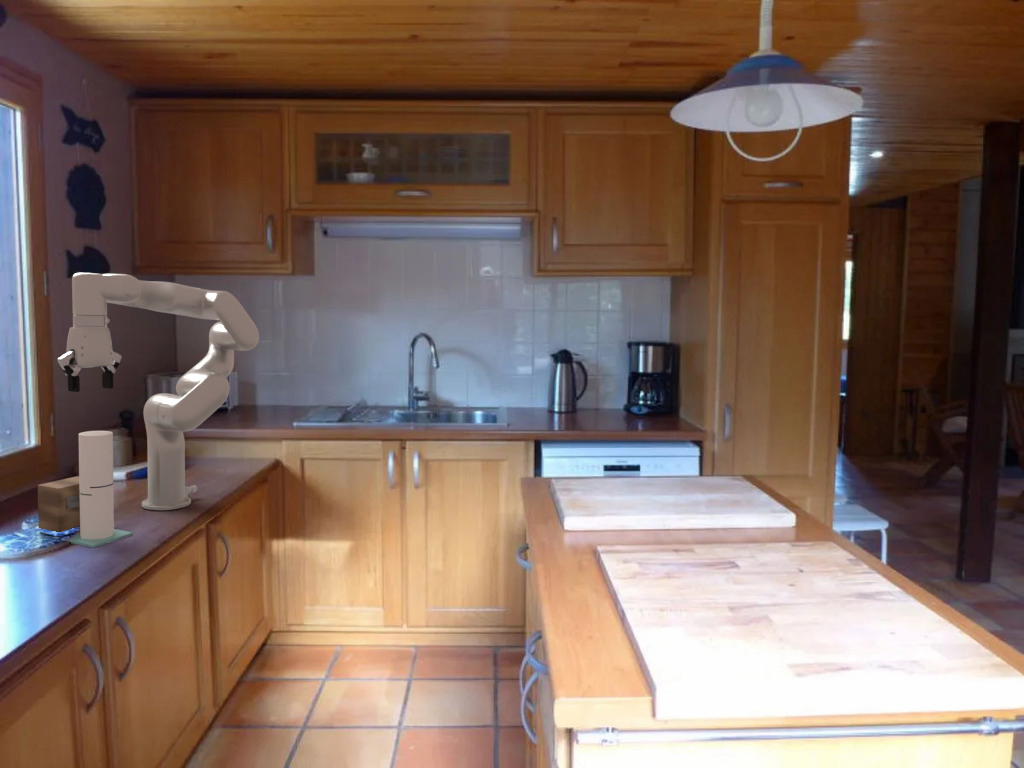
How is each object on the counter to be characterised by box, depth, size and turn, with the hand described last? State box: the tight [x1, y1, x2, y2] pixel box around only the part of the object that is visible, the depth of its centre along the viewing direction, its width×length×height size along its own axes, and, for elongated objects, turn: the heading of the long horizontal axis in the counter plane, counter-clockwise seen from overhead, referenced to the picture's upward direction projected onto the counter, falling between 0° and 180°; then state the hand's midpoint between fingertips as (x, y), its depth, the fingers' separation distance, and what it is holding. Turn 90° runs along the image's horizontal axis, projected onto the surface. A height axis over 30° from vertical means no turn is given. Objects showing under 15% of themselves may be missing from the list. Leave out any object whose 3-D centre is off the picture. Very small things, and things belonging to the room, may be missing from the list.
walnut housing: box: [37, 475, 80, 532], centre depth 184 cm, size 12×8×12 cm, turn 159°
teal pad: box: [69, 528, 134, 549], centre depth 179 cm, size 11×11×1 cm
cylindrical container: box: [78, 430, 115, 540], centre depth 177 cm, size 7×7×25 cm
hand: (91, 389), depth 188 cm, fingers open, 9 cm apart
